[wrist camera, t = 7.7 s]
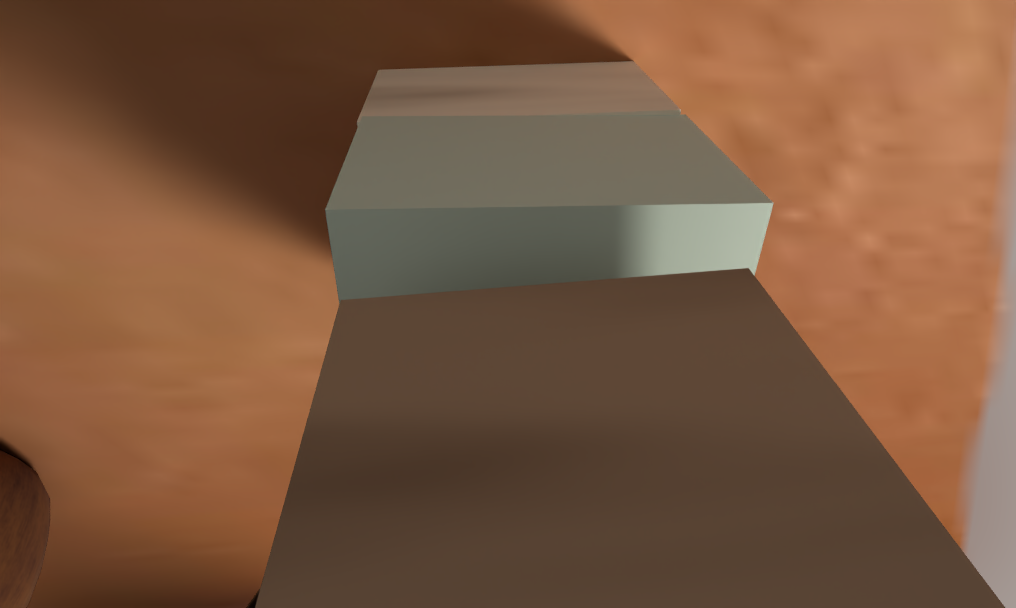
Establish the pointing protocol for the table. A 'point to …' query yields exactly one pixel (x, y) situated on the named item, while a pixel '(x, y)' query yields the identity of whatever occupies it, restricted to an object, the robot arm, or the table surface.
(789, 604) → the metal cube
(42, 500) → the wooden figurine
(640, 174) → the tower top
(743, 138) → the table surface
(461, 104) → the tower base
